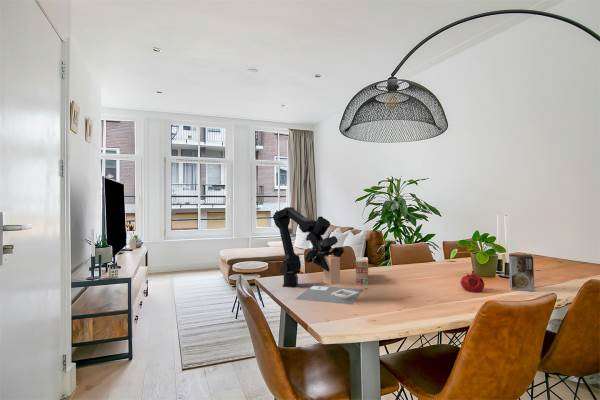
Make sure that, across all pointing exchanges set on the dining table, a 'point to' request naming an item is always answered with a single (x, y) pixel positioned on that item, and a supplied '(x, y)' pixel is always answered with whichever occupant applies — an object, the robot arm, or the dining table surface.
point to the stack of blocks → (362, 271)
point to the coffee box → (521, 272)
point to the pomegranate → (472, 283)
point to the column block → (332, 270)
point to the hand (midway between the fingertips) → (333, 270)
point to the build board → (330, 294)
